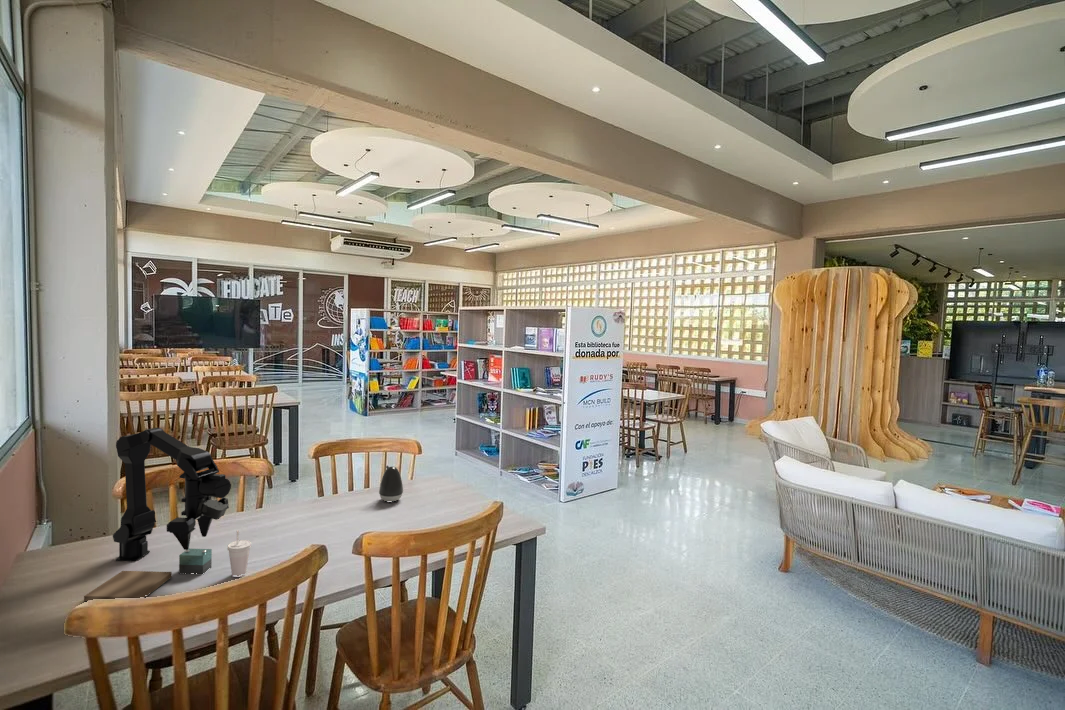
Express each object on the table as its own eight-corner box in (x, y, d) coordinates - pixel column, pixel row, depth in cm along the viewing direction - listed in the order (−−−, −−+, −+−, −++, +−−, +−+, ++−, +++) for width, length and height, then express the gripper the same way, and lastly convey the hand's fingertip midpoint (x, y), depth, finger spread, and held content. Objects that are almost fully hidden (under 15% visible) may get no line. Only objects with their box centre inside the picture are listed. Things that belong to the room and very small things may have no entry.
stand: (83, 603, 138) (83, 596, 138) (122, 577, 152) (122, 570, 152) (138, 604, 139) (138, 597, 139) (171, 578, 153) (171, 571, 153)
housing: (179, 574, 156) (179, 553, 155) (188, 567, 160) (188, 547, 160) (203, 574, 156) (203, 554, 156) (211, 567, 161) (211, 547, 160)
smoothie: (224, 574, 157) (224, 529, 156) (247, 567, 161) (248, 524, 161) (230, 582, 152) (230, 536, 152) (253, 575, 157) (254, 531, 156)
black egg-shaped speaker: (396, 495, 234) (397, 462, 233) (406, 501, 226) (407, 467, 225) (374, 499, 227) (375, 465, 226) (384, 506, 219) (385, 471, 218)
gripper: (205, 505, 148) (204, 557, 149) (239, 484, 166) (238, 531, 167) (165, 503, 147) (165, 556, 148) (203, 483, 166) (202, 530, 167)
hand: (195, 542), depth 158 cm, fingers open, 9 cm apart
